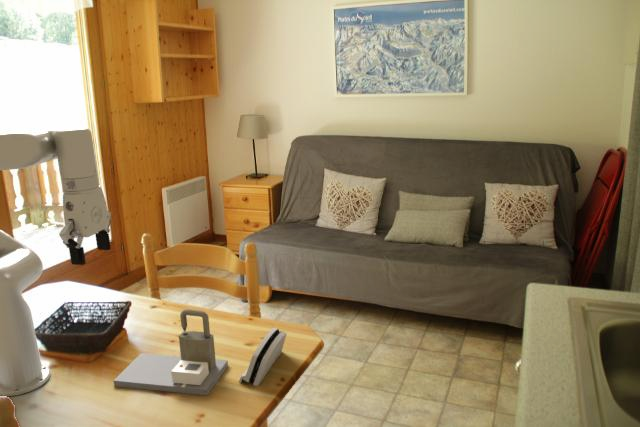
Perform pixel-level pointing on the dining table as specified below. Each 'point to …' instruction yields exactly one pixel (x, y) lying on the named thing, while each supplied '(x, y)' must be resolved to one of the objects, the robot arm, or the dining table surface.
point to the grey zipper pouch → (264, 356)
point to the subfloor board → (164, 375)
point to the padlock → (197, 341)
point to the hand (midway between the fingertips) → (92, 256)
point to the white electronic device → (190, 372)
